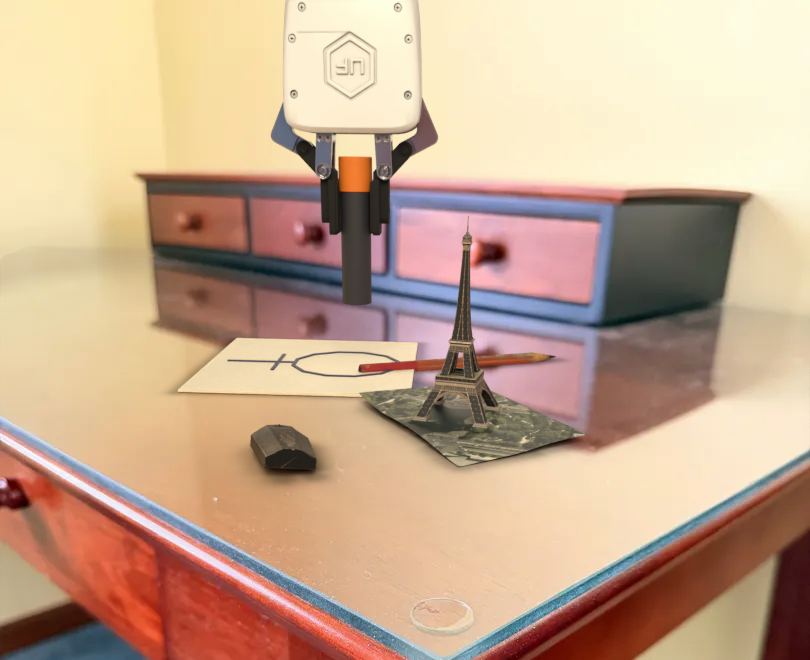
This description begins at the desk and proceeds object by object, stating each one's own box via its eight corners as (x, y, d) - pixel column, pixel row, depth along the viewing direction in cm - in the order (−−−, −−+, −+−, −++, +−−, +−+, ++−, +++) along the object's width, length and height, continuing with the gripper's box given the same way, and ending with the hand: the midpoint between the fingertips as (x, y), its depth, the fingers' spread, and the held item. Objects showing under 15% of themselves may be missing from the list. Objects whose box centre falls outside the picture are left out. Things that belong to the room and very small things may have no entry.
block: (263, 481, 46) (261, 451, 45) (248, 448, 51) (246, 420, 51) (326, 475, 47) (325, 445, 46) (305, 443, 52) (304, 416, 52)
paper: (177, 392, 63) (177, 388, 63) (236, 339, 81) (236, 336, 81) (410, 398, 63) (410, 394, 63) (417, 344, 81) (417, 341, 81)
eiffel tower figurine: (591, 444, 53) (619, 225, 48) (458, 467, 49) (471, 229, 43) (469, 387, 65) (480, 206, 59) (353, 401, 61) (352, 208, 55)
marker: (339, 305, 67) (336, 156, 62) (343, 300, 69) (340, 156, 64) (371, 305, 67) (370, 156, 62) (374, 300, 69) (373, 156, 64)
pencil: (360, 377, 69) (360, 365, 69) (356, 374, 70) (356, 363, 70) (558, 363, 75) (559, 352, 75) (552, 360, 76) (553, 350, 76)
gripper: (226, -57, 55) (245, 236, 62) (468, -56, 54) (458, 239, 62) (249, -33, 61) (265, 228, 69) (465, -32, 61) (456, 231, 69)
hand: (356, 231), depth 65 cm, fingers closed on marker, 2 cm apart
